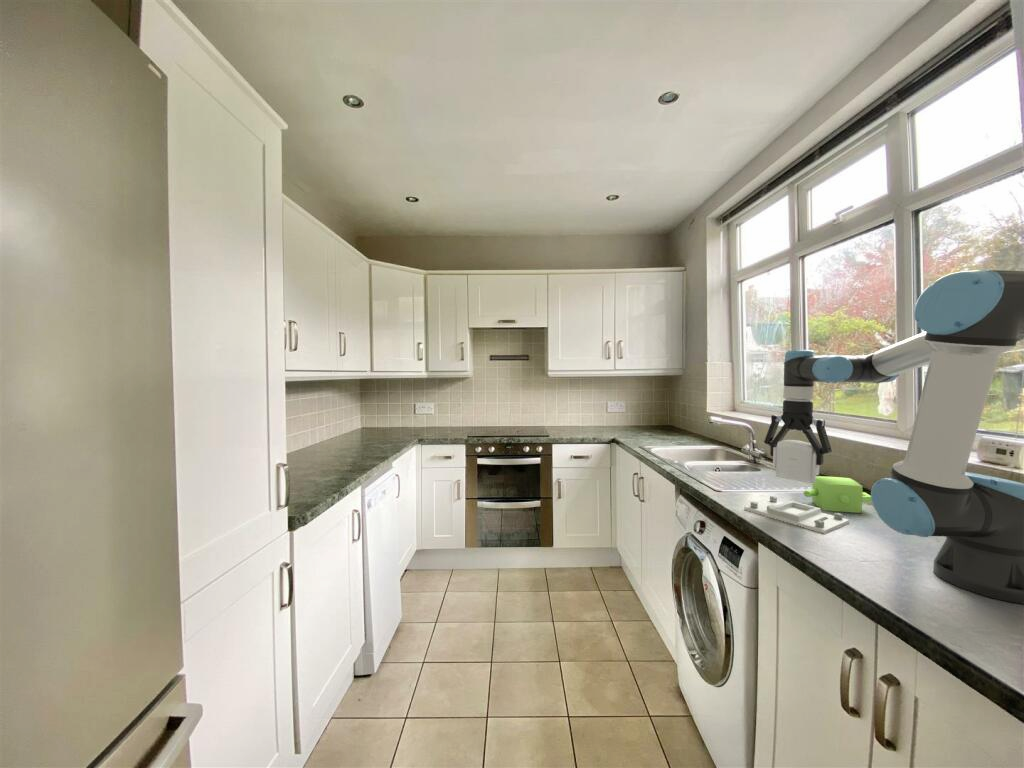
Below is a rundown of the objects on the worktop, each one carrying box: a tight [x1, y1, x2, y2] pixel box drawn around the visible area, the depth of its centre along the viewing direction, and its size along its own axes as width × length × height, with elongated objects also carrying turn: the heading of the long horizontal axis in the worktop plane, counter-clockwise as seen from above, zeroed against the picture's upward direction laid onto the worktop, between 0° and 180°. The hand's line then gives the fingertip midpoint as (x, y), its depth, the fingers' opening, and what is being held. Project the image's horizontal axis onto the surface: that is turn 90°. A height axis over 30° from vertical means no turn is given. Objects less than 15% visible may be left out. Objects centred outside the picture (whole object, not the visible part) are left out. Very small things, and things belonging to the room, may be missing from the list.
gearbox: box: [803, 475, 872, 514], centre depth 130 cm, size 18×10×10 cm, turn 72°
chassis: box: [743, 496, 850, 535], centre depth 122 cm, size 22×16×2 cm
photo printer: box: [775, 439, 816, 484], centre depth 122 cm, size 10×4×12 cm, turn 39°
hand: (795, 470), depth 122 cm, fingers closed on photo printer, 10 cm apart
